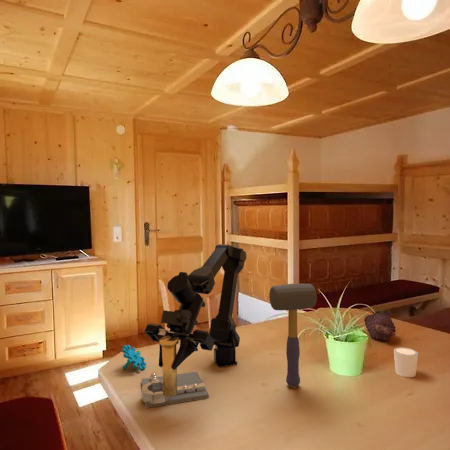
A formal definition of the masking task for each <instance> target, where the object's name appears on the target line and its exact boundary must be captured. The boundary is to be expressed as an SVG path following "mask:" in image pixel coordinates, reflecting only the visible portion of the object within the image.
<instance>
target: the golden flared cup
mask: <svg viewBox="0 0 450 450" xmlns="http://www.w3.org/2000/svg"><path fill="white" fill-rule="evenodd" d="M159 341H160V345H161V346H162V367H161V368H162V376H163V395H164V396H167V397H171V396H175V395H176V394H177V374H178V367H177V368H176V369H175V370H173V369H172V366H173V362H174V360H175V357H176V355H177V352H178V351H177V345H178V344H180V340H179V338H178V337H176V336H164V337H162V338H160V339H159Z"/></svg>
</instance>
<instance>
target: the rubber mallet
mask: <svg viewBox="0 0 450 450" xmlns="http://www.w3.org/2000/svg"><path fill="white" fill-rule="evenodd" d="M268 298H269V303H270V306H271V308H272V309H273V310H274V311H288V320H287V321H288V322H287V324H288V329H287V330H288V333H287V334H288V335H287V339H286V347H285V348H286V351H285V352H286V353H285V354H286V361H287V362H286V363H287V366H286V367H287V371H286V373H287V374H286V377H285V378H286V379H285V382H286V384H287V386H288V387H289V388H298V387H299V385H300V384H301V378H300V368H299V366H300V365H299V364H300V363H299V361H300V354H301V353H300V341H299V336H298V310H305V309H311V308H314V307H315V305H316V304H317V301H318V296H317V291H316V288H315V287H314V285H313V284H312V283H286V284H278V285H272V286H271V287H270V289H269V296H268Z"/></svg>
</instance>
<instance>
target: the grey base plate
mask: <svg viewBox="0 0 450 450" xmlns="http://www.w3.org/2000/svg"><path fill="white" fill-rule="evenodd" d="M158 379H159V380H163V375H161V376H158ZM148 382H151V380H150V377H148V378H147V377H146V378H142V379H141V387H142V386H144V385H145V384H147V383H148ZM193 383H198V384H199V383H204V382H203V380H202V378H201V377H200V374H199V372H198V371H190V372H184V373H183V372H182V373H177V387H179V386H182V385H192V384H193ZM155 392H159V391H155ZM209 397H210V395H209V392H208V390H207V389H206V390H204V391H195V392H191V393H184V394H178V395H175V396H173V397H172V398H170V399H169V400H168V401H166V402H163V403H156V404H151V403H148V402H145V401H144V405H145V406H144V407H145V409H148V408H155V407H159V406H160V407H161V406H166V405H173V404H179V403H184V402H190V401H197V400H205V399H209Z"/></svg>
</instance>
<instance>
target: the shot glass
mask: <svg viewBox="0 0 450 450" xmlns="http://www.w3.org/2000/svg"><path fill="white" fill-rule="evenodd" d="M393 356H394V357H393V359H394V368H395V373H396V374H397V375H398V376H400V377H404V378H414V377H416V375H417V367H418V360H419V359H418V357H419V352H418V351H416V350H415V349H413V348H409V347H395V348H394V349H393Z"/></svg>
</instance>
